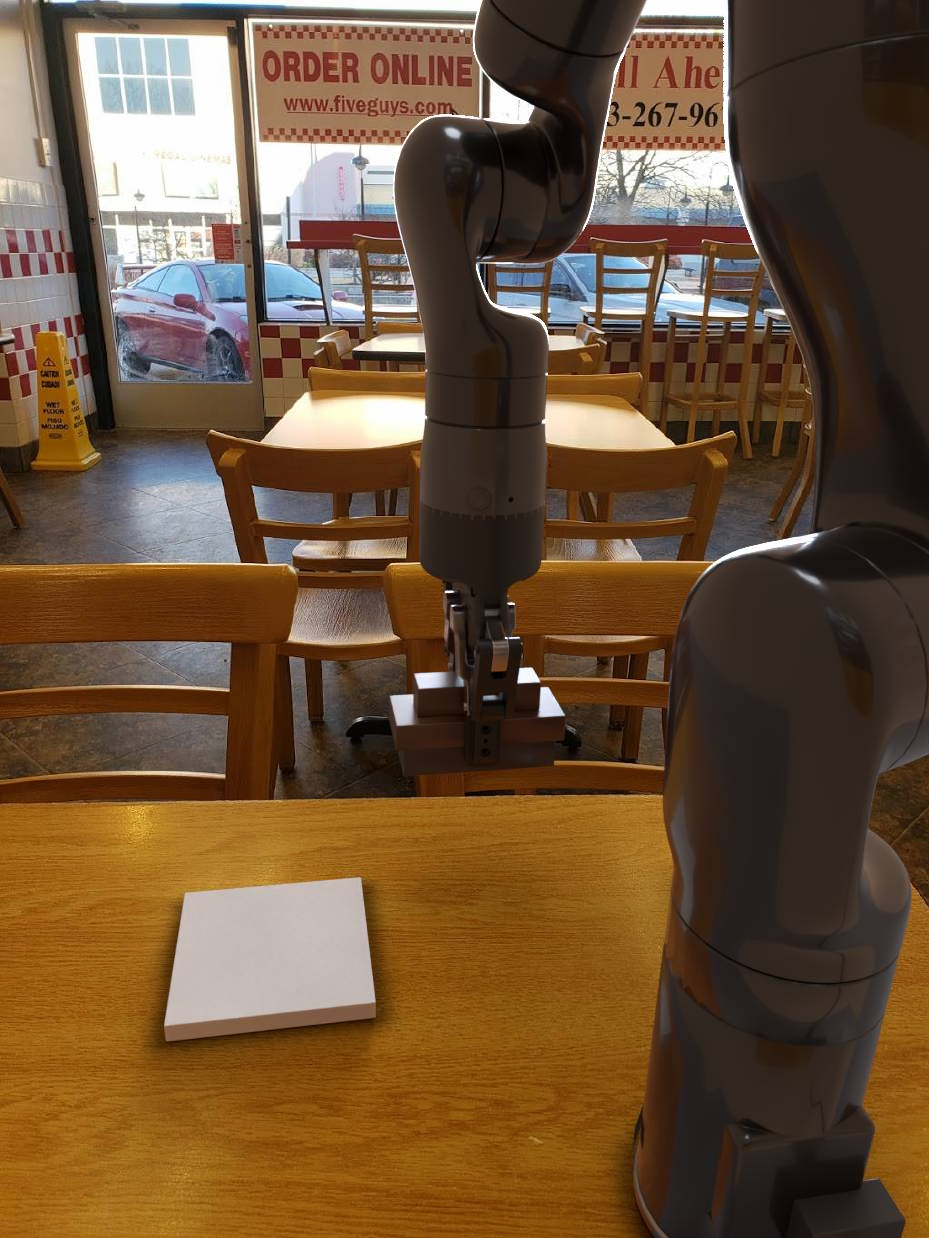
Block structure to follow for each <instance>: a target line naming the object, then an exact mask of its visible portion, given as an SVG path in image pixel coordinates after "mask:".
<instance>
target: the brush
mask: <svg viewBox="0 0 929 1238" xmlns="http://www.w3.org/2000/svg"><path fill="white" fill-rule="evenodd" d="M412 675H413V677H412V683H413V684H412V694H397V695H389V696H388V722H389V725H390V729H391V734H392V739H393V744H394V748H395V751H396V752H397V754H398V758H399V763H400V767H401V772H402V776H403V777H405V778H406V777H418V776H431V775H432V776H433V775H446V774H461V773H473V772H475V773H476V772H488V771H489V772H490V771H503V770H505V771H506V770H516V769H517V770H518V769H534V768H546V767H548V768H549V767H554V766H555V759H556V746H557V742H558V741H564V740H565V733H566V732H565V731H566V720H567V719H566V718H567V716H566V714H565V712H564V711H563V709H562V708H561V706H560V704H559V702H558V700H557V699H556V697H555V696H554V694H553V693H552V691H551V689H550V687H549V686H543V687H542V682H541V680H540V678H539V677H538V675H537V673H536V672H535V670H534V668H533V667H520V669H519V676H518V683H517V690H516V697H515V704H514V712H513V717H512V718H508V719H501V739H500V760H499V762H498V763H497V764H496V765H494V766H486V767H469V766H468V765H467V764H466V762H465V759H464V738H465V711H464V710H463V703H464V681H463V679H461V678H460V677H459V676H458V675H457V674H456V672H449V671H440V672H439V671H436V672H419V673H418V672H417V673H413V674H412ZM484 696H495V693H487V694H485V695H484Z"/></svg>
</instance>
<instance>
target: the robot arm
mask: <svg viewBox="0 0 929 1238" xmlns="http://www.w3.org/2000/svg"><path fill="white" fill-rule="evenodd" d="M647 1H648V0H480V2H479V6H478V8H477V9H478V10H477V13H476V18H475V22H474V28H473V34H472V44H473V47H472V48H473V52H474V55H475V58H476V62H477V63H478V65H479V67H480V69H481V70H482V71H483V73H484V74H485V75H486V77H487V78H488V79H489V80H490V81H491V82H492V83H494V85H496V86H497V87H498V88H500V90H502V91H504V92H505V93H507V94H509V95H510V96H512V97H514V98H516V99H518V100H520V101H522V102H524V103H526V104H529V105H531V106H532V107H531V110H530V112H529V115H528V117H527V118H526V119H525V121H518V120H517V121H516V120H515V121H514V120H506V119H505V120H503V119H492V118H483V117H482V118H480V117H474V116H465V115H452V114H439V115H433V116H429V117H427V118H425V119H423V120H421V121H420V122H419V123H418V124H417V125H416V126H414V127H413V128H412V130H410V132H409V134H408V135H407V137H406V138H405V140H404V141H403V144H402V146H401V148H400V151H399V153H398V155H397V160H396V164H395V167H394V174H393V185H392V189H393V192H392V195H393V203H394V211H395V217H396V222H397V227H398V231H399V235H400V238H401V241H402V242H401V243H402V246H403V249H404V253H405V257H406V261H407V264H408V268H409V272H410V276H411V280H412V284H413V288H414V292H415V293H414V294H415V297H416V302H417V307H418V313H419V319H420V323H421V327H422V328H421V329H422V334H423V340H424V349H425V371H424V372H425V374H424V377H425V378H424V415H425V417H424V425H423V426H424V428H423V434H422V441H421V447H420V461H419V471H420V472H419V548H418V549H419V551H418V552H419V555H418V556H419V564H420V566H421V568H422V569H423V570H424V572H426V574H428V575H429V576H432V577H434V578H436V579H438V580H440V581H441V583H442V585H443V588H442V589H443V597H442V608H443V619H444V620H443V622H444V631H443V639H444V645H443V652H444V653H445V657H446V658H449V659H448V663H447V672H456V674H457V675H458V676H459V677H460V678H461V679H463V681H464V703H463V710H464V711H465V738H464V759H465V762H466V764H467V765H468V766H469V767H486V766H494V765H496V764H497V763H498V762H499V760H500V739H501V719H508V718H512V717H513V712H514V704H515V697H516V690H517V683H518V676H519V669H520V668H521V661H522V656H523V652H524V645H523V643H522V640H521V638H520V637H521V636H520V637H519V636H516V637H515V636H513V633H514V632H515V630H516V628H517V612H516V611H517V609H516V605H515V603H514V602H509V594H508V592H509V589H510V588H511V587H512V586H513V585H515V584H516V583H518V582H523V581H526V580H529V579H530V578H532V577H533V576H535V575H536V574H537V573H538V572H539V570H540V569H541V566H542V560H543V559H542V558H543V556H542V555H543V543H544V542H543V541H544V524H545V523H544V522H545V508H546V505H545V504H546V487H547V471H548V451H547V450H548V448H547V438H546V411H547V409H546V408H547V394H548V393H547V392H548V391H547V390H548V375H549V374H548V373H549V361H550V360H549V359H550V338H549V334H548V330H547V326H546V325H545V323H544V322H543V321H542V320H541V319H540V318H538V317H536V316H535V315H533V314H530V313H527V312H524V311H520V310H516V309H512V308H508V307H504V306H500V305H497V304H495V303H493V302H492V301H491V299H490V298H489V296H488V293H487V292H486V290H485V287H484V285H483V282H482V279H481V276H480V272H479V269H478V264H501V265H511V264H512V265H540V264H544V263H545V264H546V263H548V262H552V261H553V260H555V259H557V258H558V257H560V256H561V255H563V254H564V253H565V252H566V251H567V250H568V249H570V248H571V246H572V245H573V244H574V243H576V241H577V239H578V238H579V236H580V235H581V234H582V232H583V231H584V229H585V227H586V225H587V223H588V221H589V218H590V215H591V212H592V210H593V205H594V201H595V196H596V189H597V182H598V175H599V167H600V160H601V154H602V148H603V142H604V137H605V132H606V126H607V122H608V117H609V113H610V112H609V111H610V105H611V99H612V95H613V88H614V84H615V80H616V75H617V72H618V69H619V66H620V63H621V61H622V59H623V57H624V54H625V52H626V51H627V47H628V45H629V43H630V41H631V38H632V36H633V34H634V32H635V29H636V26H637V24H638V22H639V20H640V18H641V15H642V13H643V11H644V8H645V6H646V4H647ZM723 3H724V4H723V5H724V7H723V9H724V10H723V13H724V14H723V15H724V16H723V17H724V20H723V23H724V24H723V25H724V27H723V28H724V32H723V35H724V36H723V37H724V38H723V41H724V42H723V43H724V44H723V46H724V47H723V51H724V52H723V54H724V55H723V60H724V61H723V67H724V68H723V81H724V82H723V93H724V94H723V100H724V101H723V124H724V140H725V149H726V157H727V158H726V159H727V163H728V164H727V165H728V169H729V173H730V178H731V184H732V186H733V189H734V192H735V196H736V198H737V201H738V205H739V208H740V211H741V214H742V218H743V220H744V223H745V225H746V228H747V230H748V233H749V235H750V239H751V240H752V243H753V245H754V248H755V251H756V253H757V255H758V258H759V260H760V262H761V264H762V267H763V268H764V269H763V270H764V271H765V274H766V276H767V277H768V280H769V283H770V285H771V286H772V289H773V291H774V293H775V295H776V298H777V300H778V302H779V304H780V306H781V308H782V311H783V313H784V315H785V317H786V320H787V321H788V323H789V326H790V328H791V329H790V330H791V331H792V334H793V337H794V339H795V342H796V344H797V347H798V350H799V353H800V354H801V358H802V361H803V366H804V368H805V373H806V376H807V379H808V383H809V385H808V386H809V389H810V390H809V391H810V396H811V400H812V401H811V402H812V411H813V424H814V425H813V427H814V486H813V487H814V490H813V502H812V503H813V504H812V515H811V521H810V522H811V523H810V528H809V529H810V530H809V534H806V535H799V536H794V537H789V538H784V539H779V540H774V541H768V542H764V543H763V542H762V543H760V544H759V543H758V544H756V545H755V544H754V545H751V546H747V547H743V548H740V549H737V550H735V551H732V552H730V553H728V554H725V555H723V556H722V557H720V558H718V559H717V560H716V561H714V562H713V563H712V564H710V565H709V566H708V567H707V568H706V569H705V570H704V571H703V572H702V573H701V574H700V576H698V578H697V579H696V581H695V582H694V584H693V585H692V587H691V588H690V591H689V593H688V595H687V597H686V599H685V601H684V603H683V606H682V609H681V612H680V614H679V618H678V620H677V625H676V629H675V633H674V636H673V643H672V649H671V650H672V651H671V657H670V665H669V677H668V689H667V690H668V691H667V711H666V730H665V747H664V748H665V749H664V766H663V778H662V779H663V780H662V781H663V782H662V814H663V824H664V828H665V834H666V838H667V839H666V840H667V842H668V846H669V850H670V854H671V859H672V865H673V868H672V878H671V886H670V892H669V893H670V894H669V901H668V908H667V916H666V924H665V925H666V926H665V932H664V940H663V946H662V955H661V961H660V962H661V963H660V971H659V978H658V986H657V992H656V1001H655V1010H654V1018H653V1024H652V1025H653V1027H652V1032H651V1042H650V1049H649V1057H648V1066H647V1072H646V1073H647V1074H646V1081H645V1088H644V1089H645V1090H644V1098H643V1103H642V1106H641V1110H640V1111H639V1115H638V1117H637V1119H636V1123H635V1126H634V1132H633V1141H632V1149H631V1150H632V1152H633V1150H634V1147H635V1145H636V1142H637V1139H638V1136H639V1139H638V1140H639V1142H638V1144H637V1147H636V1150H635V1154H634V1164H633V1173H632V1183H633V1192H634V1197H635V1201H636V1204H637V1207H638V1211H639V1213H640V1215H641V1217H642V1220H643V1222H644V1224H645V1225H646V1227H647V1229H648V1231H649V1232H650V1234H651V1235H652V1236H653V1238H902V1236H903V1233H904V1229H905V1226H906V1222H907V1221H906V1218H905V1217H904V1215H903V1214H902V1212H901V1209H899V1207H898V1206H897V1204H896V1202H895V1201H894V1199H893V1198H892V1196H891V1194H890V1193H889V1192H888V1189H887V1188H886V1187H885V1185H884V1183H883V1182H882V1180H881V1179H880V1177H879V1178H872V1179H866V1180H865V1179H864V1178H865V1173H866V1169H867V1166H868V1161H869V1157H870V1153H871V1149H872V1145H873V1141H874V1137H875V1134H876V1125H875V1123H874V1121H873V1120H872V1118H871V1117H870V1115H869V1114H868V1112H867V1111H866V1109H865V1107H864V1103H865V1099H866V1094H867V1090H868V1086H869V1083H870V1077H871V1073H872V1070H873V1065H874V1061H875V1057H876V1053H877V1049H878V1045H879V1040H880V1036H881V1033H882V1032H881V1031H882V1027H883V1023H884V1019H885V1015H886V1010H887V1006H888V1003H889V999H890V995H891V991H892V987H893V982H894V978H895V975H896V970H897V966H898V962H899V957H900V954H901V949H902V947H903V943H904V939H905V937H906V936H905V935H906V931H907V926H908V923H909V918H910V913H911V910H912V909H911V908H912V898H913V894H912V893H913V891H912V884H911V880H910V876H909V873H908V870H907V868H906V866H905V864H904V862H903V860H902V859H901V858H900V856H899V855H898V853H897V852H896V850H894V848H893V847H892V846H891V845H890V844H889V843H888V842H887V841H886V840H885V839H884V838H882V837H881V836H880V835H878V834H877V833H876V832H875V831H873V830H872V829H870V828H869V823H870V817H871V811H872V805H873V800H874V795H875V791H876V786H877V782H878V779H879V776H880V775H882V774H885V773H886V772H890V771H892V770H894V769H897V768H900V767H902V766H904V765H907V764H910V763H911V762H914V761H916V760H919V759H921V758H923V757H925V756H928V755H929V0H723ZM487 693H495V696H484V695H485V694H487ZM639 1133H640V1134H639Z"/></svg>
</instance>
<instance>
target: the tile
mask: <svg viewBox="0 0 929 1238" xmlns="http://www.w3.org/2000/svg"><path fill="white" fill-rule="evenodd" d="M181 908H182V909H181V915H180V921H179V927H178V935H177V941H176V947H175V952H174V960H173V966H172V972H171V979H170V984H169V991H168V997H167V1004H166V1011H165V1016H164V1023H163V1029H164V1037H165V1042H175V1041H185V1040H193V1039H201V1038H212V1037H220V1036H228V1035H237V1034H245V1033H254V1032H255V1033H256V1032H264V1031H272V1030H280V1029H282V1030H283V1029H291V1028H297V1027H298V1028H299V1027H308V1026H314V1025H315V1026H316V1025H325V1024H334V1023H341V1022H342V1023H343V1022H351V1021H352V1022H353V1021H359V1020H360V1021H361V1020H367V1019H376V1017H377V1001H376V994H375V993H376V992H375V983H374V975H373V968H372V960H371V952H370V951H371V950H370V944H369V943H370V941H369V934H368V924H367V917H366V909H365V901H364V891H363V884H362V877H349V878H337V879H327V880H326V879H325V880H315V881H304V882H302V881H301V882H293V883H281V884H270V885H269V884H267V885H259V886H247V887H235V888H226V889H225V888H224V889H213V890H202V891H193V892H192V891H190V892H189V891H188V892H184V895H183V902H182V907H181Z"/></svg>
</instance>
